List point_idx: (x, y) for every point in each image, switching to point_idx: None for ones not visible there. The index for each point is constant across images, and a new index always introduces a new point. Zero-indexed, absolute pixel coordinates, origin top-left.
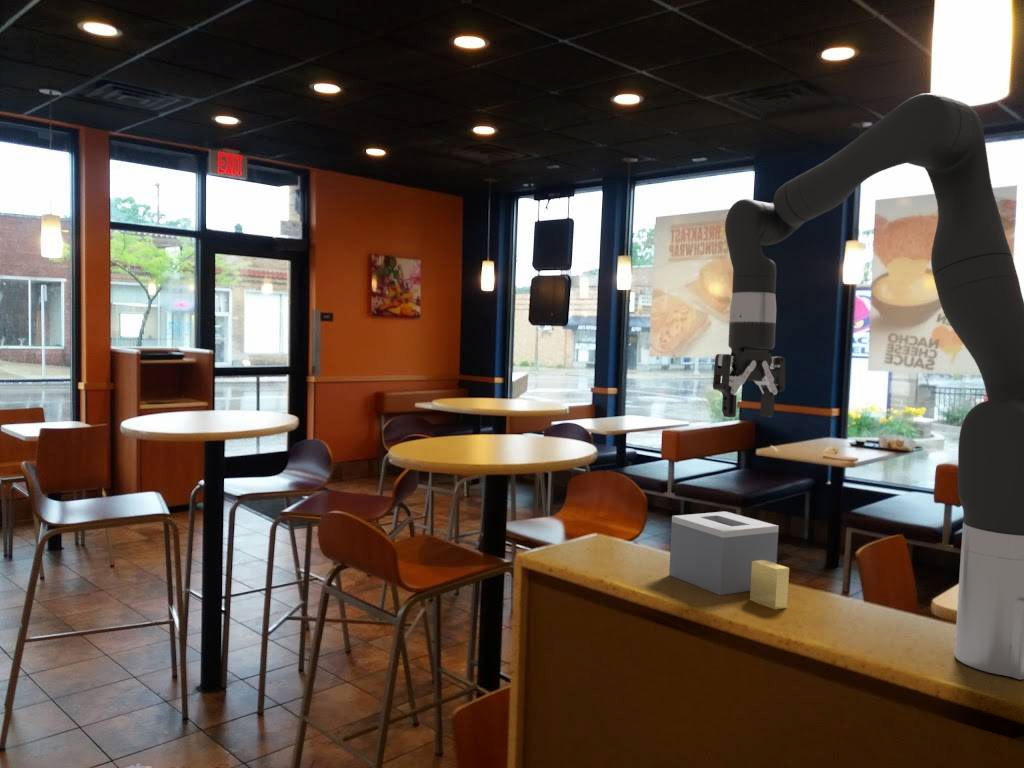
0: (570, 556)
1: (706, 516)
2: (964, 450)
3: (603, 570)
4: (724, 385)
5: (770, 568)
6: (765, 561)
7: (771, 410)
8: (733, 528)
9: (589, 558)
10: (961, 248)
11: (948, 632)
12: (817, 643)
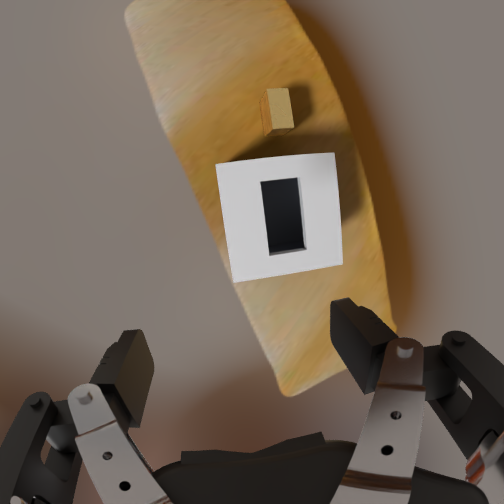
0: None
1: (293, 251)
2: None
3: (364, 278)
4: (469, 340)
5: (289, 98)
6: (276, 121)
7: (126, 340)
8: (307, 163)
9: None
10: None
11: (154, 24)
12: (299, 32)
